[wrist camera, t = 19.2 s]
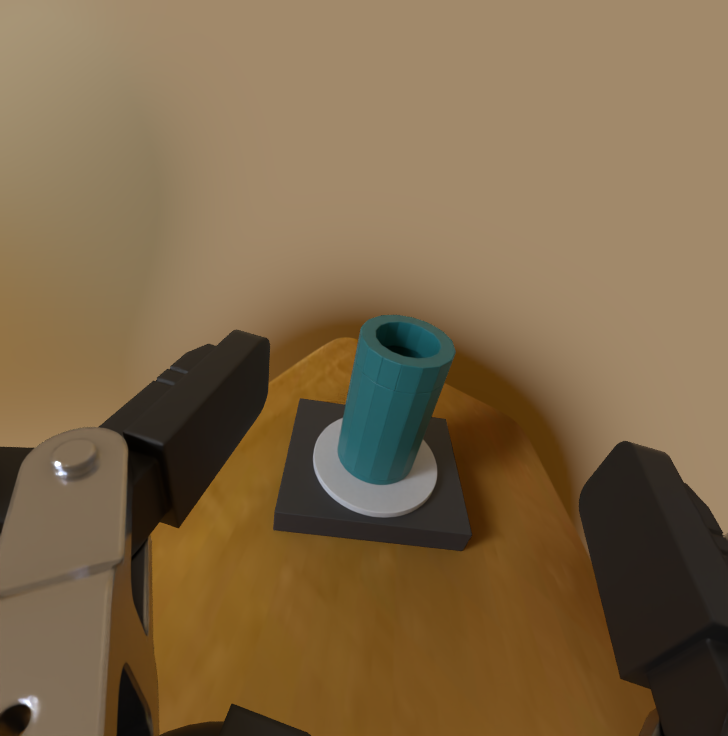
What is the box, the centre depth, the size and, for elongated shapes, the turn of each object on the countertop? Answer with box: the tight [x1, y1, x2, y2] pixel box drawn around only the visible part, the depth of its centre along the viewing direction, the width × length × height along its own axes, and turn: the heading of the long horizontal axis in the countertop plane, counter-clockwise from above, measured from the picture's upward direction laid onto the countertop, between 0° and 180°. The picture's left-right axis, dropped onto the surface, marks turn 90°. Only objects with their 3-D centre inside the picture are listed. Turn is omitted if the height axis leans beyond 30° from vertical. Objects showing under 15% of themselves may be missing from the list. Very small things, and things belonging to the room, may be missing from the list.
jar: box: [338, 315, 456, 485], centre depth 29 cm, size 6×6×11 cm
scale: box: [273, 399, 472, 551], centre depth 33 cm, size 14×12×3 cm
